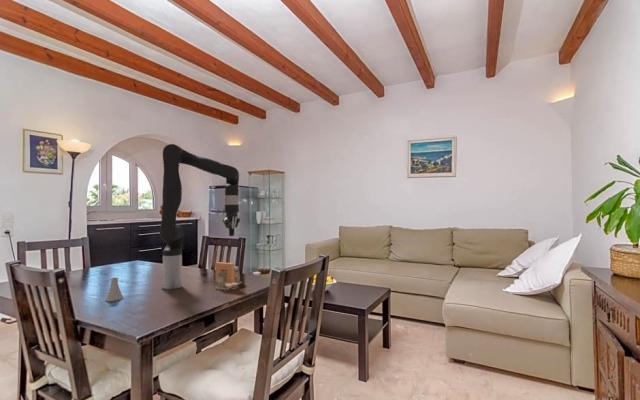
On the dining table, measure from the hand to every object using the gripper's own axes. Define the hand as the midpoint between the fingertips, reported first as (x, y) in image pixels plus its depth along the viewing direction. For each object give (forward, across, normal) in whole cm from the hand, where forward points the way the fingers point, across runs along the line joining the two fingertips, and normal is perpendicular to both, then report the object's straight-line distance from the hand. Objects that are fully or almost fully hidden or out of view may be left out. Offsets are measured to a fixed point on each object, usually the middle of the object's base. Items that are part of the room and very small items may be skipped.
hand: (231, 235), depth 179 cm
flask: (+27, +40, -36) cm, 61 cm away
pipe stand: (+27, +2, 0) cm, 27 cm away
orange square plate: (+24, +6, 0) cm, 24 cm away
